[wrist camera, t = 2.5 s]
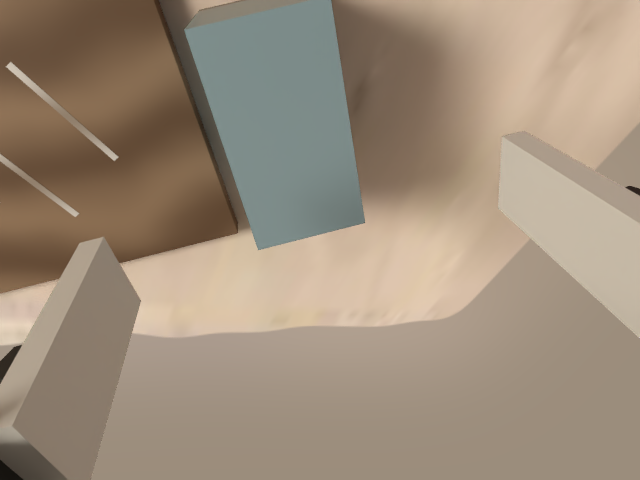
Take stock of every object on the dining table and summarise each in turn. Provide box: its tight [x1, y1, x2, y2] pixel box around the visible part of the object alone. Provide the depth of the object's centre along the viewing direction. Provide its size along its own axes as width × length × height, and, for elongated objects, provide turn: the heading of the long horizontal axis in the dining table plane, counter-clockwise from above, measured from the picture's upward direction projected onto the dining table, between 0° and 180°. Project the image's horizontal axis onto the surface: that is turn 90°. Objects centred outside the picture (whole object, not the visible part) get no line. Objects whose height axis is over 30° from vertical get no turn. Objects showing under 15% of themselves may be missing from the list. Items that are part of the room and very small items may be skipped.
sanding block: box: [184, 0, 365, 250], centre depth 24 cm, size 11×6×9 cm, turn 11°
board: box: [0, 0, 238, 293], centre depth 26 cm, size 17×20×2 cm
